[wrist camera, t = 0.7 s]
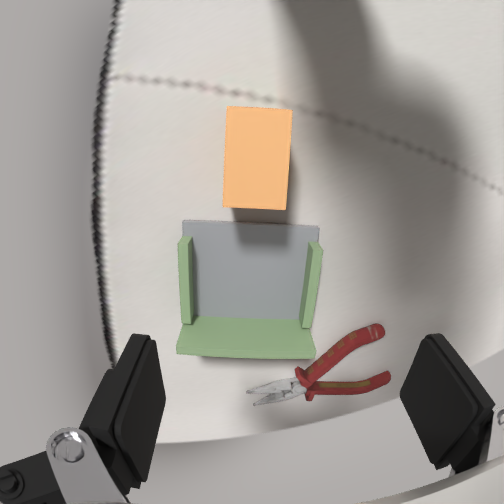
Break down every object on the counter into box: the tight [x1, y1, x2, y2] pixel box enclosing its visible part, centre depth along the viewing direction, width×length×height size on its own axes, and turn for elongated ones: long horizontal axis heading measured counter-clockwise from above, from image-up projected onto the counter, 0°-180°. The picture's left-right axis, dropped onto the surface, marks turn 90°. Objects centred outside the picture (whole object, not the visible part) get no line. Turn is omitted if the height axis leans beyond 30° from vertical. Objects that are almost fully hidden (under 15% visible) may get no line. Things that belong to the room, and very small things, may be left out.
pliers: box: [246, 324, 391, 406], centre depth 39 cm, size 12×20×3 cm, turn 110°
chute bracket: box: [176, 220, 323, 359], centre depth 31 cm, size 12×14×7 cm
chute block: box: [223, 106, 293, 210], centre depth 26 cm, size 8×5×7 cm, turn 177°
